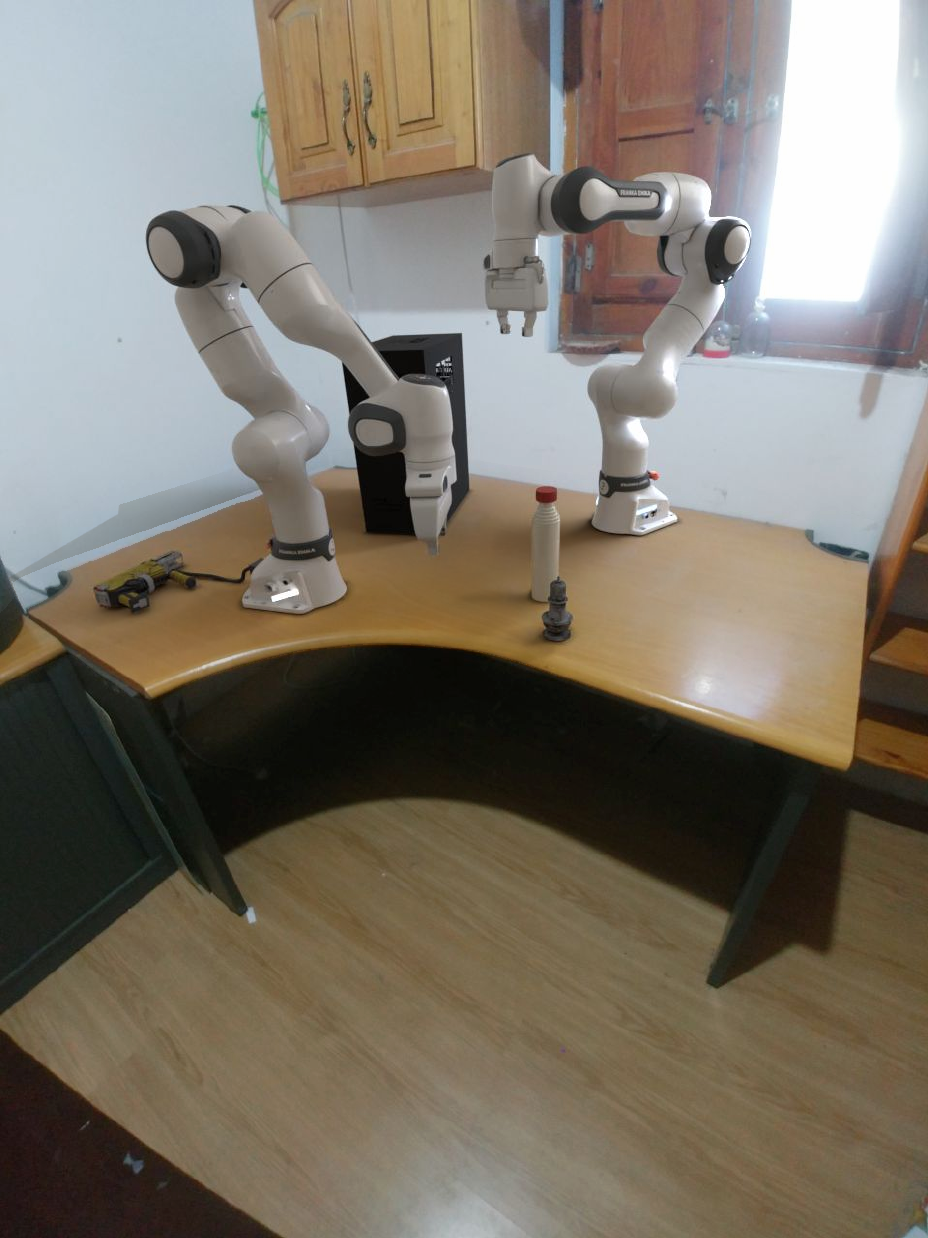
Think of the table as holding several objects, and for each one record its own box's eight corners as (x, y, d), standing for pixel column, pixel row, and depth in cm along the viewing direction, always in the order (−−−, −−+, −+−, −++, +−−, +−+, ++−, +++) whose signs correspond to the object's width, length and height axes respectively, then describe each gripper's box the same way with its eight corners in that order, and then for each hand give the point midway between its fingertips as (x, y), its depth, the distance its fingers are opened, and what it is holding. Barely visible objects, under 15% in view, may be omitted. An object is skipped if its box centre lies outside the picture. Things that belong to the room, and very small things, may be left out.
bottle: (541, 604, 124) (542, 497, 112) (526, 594, 128) (526, 490, 117) (563, 597, 126) (566, 492, 115) (547, 587, 130) (549, 484, 119)
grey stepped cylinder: (571, 642, 110) (574, 584, 104) (539, 640, 111) (540, 582, 105) (573, 626, 115) (576, 569, 109) (542, 624, 116) (543, 568, 110)
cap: (543, 504, 114) (543, 494, 113) (531, 499, 117) (531, 488, 116) (561, 500, 116) (561, 489, 115) (548, 494, 119) (548, 484, 118)
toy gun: (220, 558, 145) (169, 547, 149) (142, 600, 125) (86, 587, 129) (223, 576, 147) (173, 565, 151) (147, 620, 127) (92, 606, 131)
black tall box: (438, 535, 159) (423, 349, 136) (366, 532, 163) (340, 351, 140) (469, 489, 190) (461, 332, 168) (408, 488, 195) (393, 335, 172)
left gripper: (423, 456, 116) (430, 524, 123) (402, 490, 99) (411, 567, 106) (456, 455, 116) (461, 523, 122) (440, 489, 98) (447, 566, 105)
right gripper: (557, 254, 111) (556, 336, 118) (505, 258, 127) (506, 331, 134) (528, 255, 109) (527, 339, 116) (478, 260, 125) (481, 333, 132)
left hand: (438, 544), depth 114 cm, fingers open, 8 cm apart
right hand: (516, 335), depth 125 cm, fingers open, 8 cm apart
